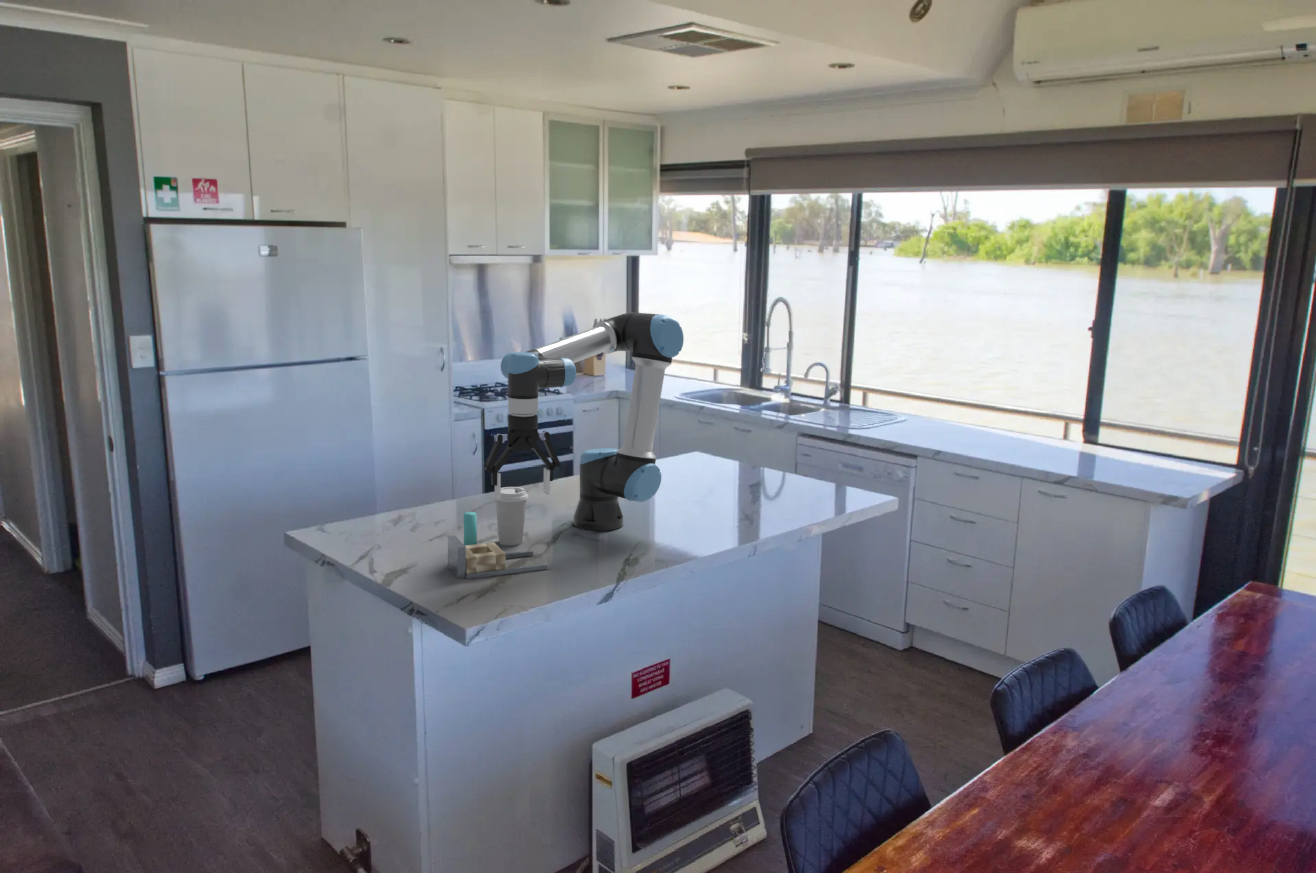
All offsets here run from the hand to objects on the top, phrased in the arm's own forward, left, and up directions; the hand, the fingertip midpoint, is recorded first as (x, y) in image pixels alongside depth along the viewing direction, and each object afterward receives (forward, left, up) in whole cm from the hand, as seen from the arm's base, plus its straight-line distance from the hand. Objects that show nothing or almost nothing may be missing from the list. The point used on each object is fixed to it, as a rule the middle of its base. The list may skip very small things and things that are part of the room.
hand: (522, 495), depth 239 cm
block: (+11, 0, -19) cm, 22 cm away
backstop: (+7, 0, -19) cm, 20 cm away
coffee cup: (-3, -19, -19) cm, 27 cm away
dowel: (+11, -10, -19) cm, 24 cm away
